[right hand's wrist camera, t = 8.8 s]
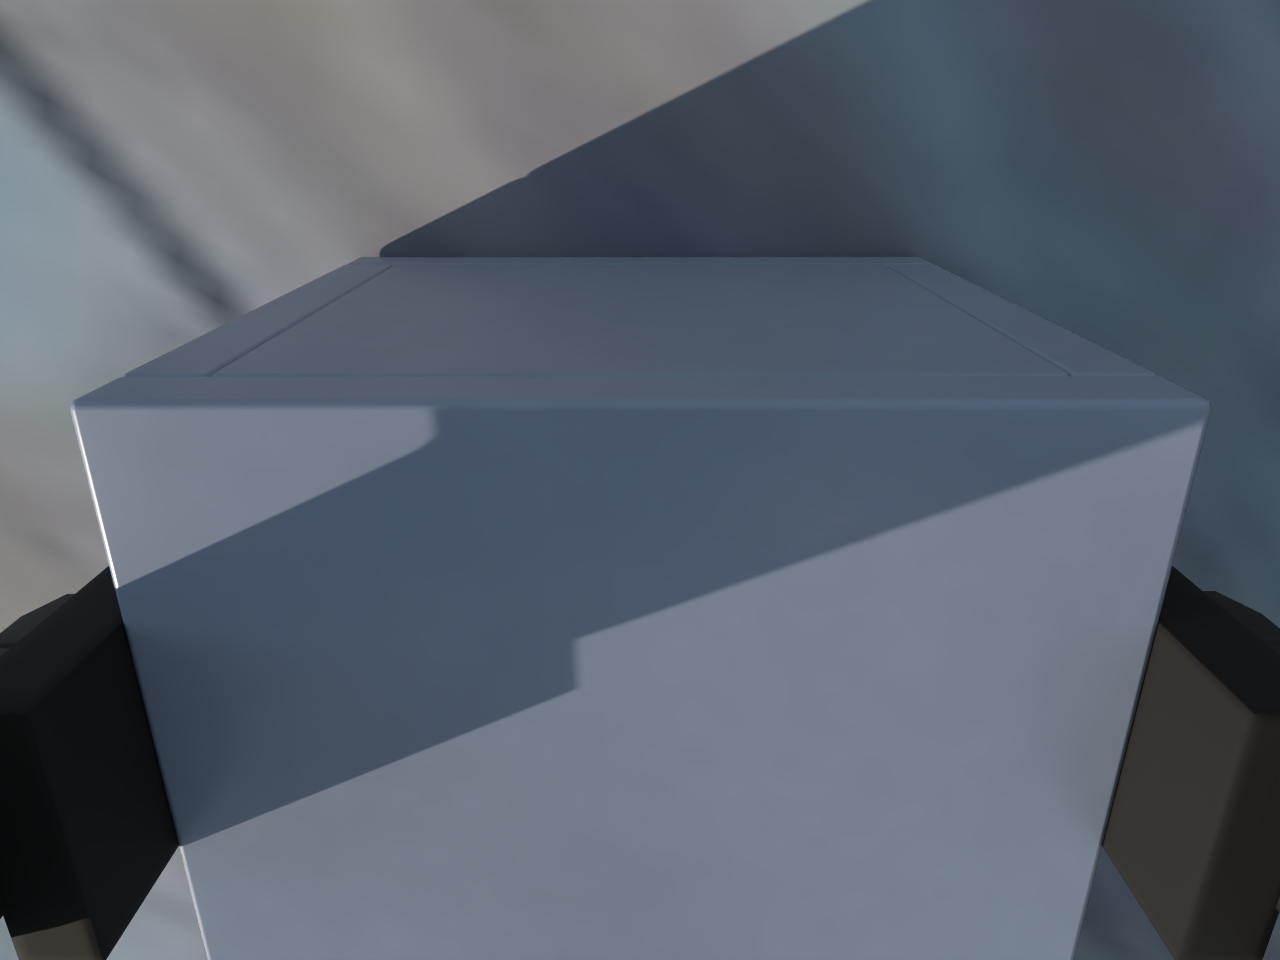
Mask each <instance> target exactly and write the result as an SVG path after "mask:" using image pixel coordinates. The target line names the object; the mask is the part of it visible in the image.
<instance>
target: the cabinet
mask: <svg viewBox="0 0 1280 960" xmlns="http://www.w3.org/2000/svg"><path fill="white" fill-rule="evenodd" d="M70 411H71V415H72V419H73V423H74V427H75V431H76V435H77V439H78V443H79V447H80V451H81V455H82V459H83V463H84V467H85V471H86V475H87V479H88V483H89V487H90V491H91V495H92V499H93V503H94V507H95V511H96V515H97V519H98V523H99V527H100V531H101V535H102V539H103V543H104V547H105V551H106V555H107V559H108V563H109V567H110V571H111V575H112V579H113V583H114V587H115V591H116V595H117V599H118V603H119V607H120V611H121V615H122V619H123V623H124V627H125V631H126V635H127V639H128V643H129V647H130V651H131V655H132V659H133V663H134V667H135V670H136V674H137V678H138V682H139V686H140V690H141V694H142V698H143V702H144V706H145V710H146V714H147V718H148V722H149V726H150V730H151V734H152V738H153V742H154V746H155V750H156V754H157V758H158V762H159V766H160V770H161V774H162V778H163V782H164V786H165V790H166V794H167V798H168V802H169V806H170V810H171V814H172V818H173V822H174V826H175V830H176V834H177V838H178V842H179V846H180V850H181V854H182V858H183V862H184V866H185V870H186V874H187V878H188V882H189V886H190V890H191V894H192V898H193V902H194V906H195V910H196V914H197V918H198V922H199V926H200V930H201V934H202V938H203V942H204V946H205V950H206V954H207V958H208V960H1074V956H1075V952H1076V948H1077V944H1078V940H1079V936H1080V932H1081V928H1082V924H1083V920H1084V916H1085V912H1086V908H1087V904H1088V900H1089V896H1090V892H1091V888H1092V884H1093V880H1094V876H1095V872H1096V868H1097V864H1098V860H1099V856H1100V852H1101V848H1102V844H1103V840H1104V836H1105V832H1106V828H1107V824H1108V820H1109V816H1110V812H1111V808H1112V804H1113V800H1114V796H1115V792H1116V788H1117V784H1118V780H1119V776H1120V772H1121V768H1122V764H1123V760H1124V756H1125V752H1126V748H1127V744H1128V740H1129V736H1130V732H1131V728H1132V724H1133V720H1134V716H1135V712H1136V708H1137V704H1138V700H1139V696H1140V692H1141V688H1142V684H1143V680H1144V676H1145V672H1146V668H1147V664H1148V660H1149V656H1150V652H1151V648H1152V644H1153V640H1154V636H1155V632H1156V628H1157V624H1158V620H1159V616H1160V612H1161V608H1162V604H1163V600H1164V596H1165V592H1166V588H1167V584H1168V580H1169V576H1170V572H1171V568H1172V564H1173V560H1174V556H1175V552H1176V548H1177V544H1178V540H1179V536H1180V532H1181V528H1182V524H1183V520H1184V516H1185V512H1186V508H1187V504H1188V500H1189V496H1190V492H1191V488H1192V484H1193V480H1194V476H1195V472H1196V468H1197V464H1198V460H1199V456H1200V452H1201V448H1202V444H1203V440H1204V436H1205V432H1206V428H1207V424H1208V420H1209V416H1210V412H1211V405H1210V402H1209V400H1207V399H1205V398H1203V397H1201V396H1199V395H1197V394H1195V393H1193V392H1191V391H1189V390H1187V389H1185V388H1183V387H1181V386H1179V385H1177V384H1175V383H1173V382H1171V381H1169V380H1167V379H1165V378H1162V377H1160V376H1157V374H1156V373H1154V372H1152V371H1150V370H1148V369H1146V368H1144V367H1142V366H1140V365H1137V364H1135V363H1133V362H1131V361H1129V360H1127V359H1125V358H1123V357H1121V356H1119V355H1117V354H1115V353H1113V352H1111V351H1109V350H1107V349H1105V348H1103V347H1101V346H1099V345H1097V344H1095V343H1093V342H1091V341H1089V340H1087V339H1085V338H1083V337H1081V336H1079V335H1077V334H1075V333H1072V332H1070V331H1068V330H1066V329H1064V328H1062V327H1060V326H1058V325H1056V324H1054V323H1052V322H1050V321H1048V320H1046V319H1044V318H1042V317H1040V316H1038V315H1036V314H1034V313H1032V312H1030V311H1028V310H1026V309H1024V308H1022V307H1020V306H1018V305H1016V304H1014V303H1012V302H1009V301H1007V300H1005V299H1003V298H1001V297H999V296H997V295H995V294H993V293H991V292H989V291H987V290H985V289H983V288H981V287H979V286H977V285H975V284H973V283H971V282H969V281H967V280H965V279H963V278H961V277H959V276H957V275H955V274H953V273H951V272H949V271H947V270H944V269H942V268H940V267H938V266H936V265H934V264H932V263H930V262H928V261H926V260H924V259H922V258H920V257H361V258H359V259H357V260H355V261H353V262H351V263H349V264H346V265H344V266H342V267H340V268H338V269H336V270H334V271H332V272H330V273H328V274H326V275H324V276H322V277H319V278H317V279H315V280H313V281H311V282H309V283H307V284H305V285H303V286H301V287H299V288H297V289H295V290H293V291H291V292H289V293H287V294H285V295H283V296H281V297H279V298H277V299H275V300H273V301H271V302H269V303H267V304H265V305H263V306H261V307H259V308H257V309H255V310H253V311H251V312H249V313H247V314H245V315H243V316H241V317H239V318H237V319H235V320H233V321H231V322H229V323H227V324H225V325H223V326H221V327H219V328H217V329H215V330H212V331H210V332H208V333H206V334H204V335H202V336H200V337H198V338H196V339H194V340H192V341H190V342H188V343H186V344H184V345H182V346H180V347H178V348H176V349H174V350H172V351H170V352H168V353H166V354H164V355H162V356H160V357H158V358H156V359H154V360H152V361H150V362H148V363H146V364H144V365H142V366H140V367H138V368H136V369H134V370H132V371H130V372H128V373H126V374H124V375H123V377H120V378H118V379H116V380H114V381H112V382H110V383H108V384H106V385H104V386H102V387H100V388H98V389H96V390H94V391H92V392H90V393H88V394H86V395H84V396H82V397H80V398H78V399H76V400H74V401H73V402H72V403H71V409H70Z"/></svg>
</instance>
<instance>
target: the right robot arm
mask: <svg viewBox="0 0 1280 960" xmlns="http://www.w3.org/2000/svg"><path fill="white" fill-rule="evenodd" d="M178 846H179V842H178V838H177V834H176V830H175V826H174V822H173V818H172V814H171V810H170V806H169V802H168V798H167V794H166V790H165V786H164V782H163V778H162V774H161V770H160V766H159V762H158V758H157V754H156V750H155V746H154V742H153V738H152V734H151V730H150V726H149V722H148V718H147V714H146V710H145V706H144V702H143V698H142V694H141V690H140V686H139V682H138V678H137V674H136V670H135V667H134V663H133V659H132V655H131V651H130V647H129V643H128V639H127V635H126V631H125V627H124V623H123V619H122V615H121V611H120V607H119V603H118V599H117V595H116V591H115V587H114V583H113V579H112V575H111V571H110V567H109V566H108V567H107V568H106V569H105V570H103V571H102V572H101V573H100V574H99V575H97V576H96V577H95V578H94V579H93V580H91V581H90V582H89V583H88V584H87V585H85V586H84V587H83V588H82V589H81V590H79V591H78V592H77V593H76V594H66V595H64V596H62V597H60V598H58V599H56V600H54V601H52V602H50V603H48V604H46V605H44V606H42V607H40V608H38V609H36V610H34V611H32V612H30V613H28V614H26V615H24V616H22V617H20V618H19V619H18V620H16V621H15V622H14V623H13V624H11V625H10V626H9V627H8V628H6V629H5V630H4V631H3V632H1V633H0V919H1V917H2V916H4V919H5V922H6V925H7V927H8V930H9V933H10V936H11V939H12V941H13V944H14V947H15V950H16V953H17V956H18V958H19V960H106V959H107V957H108V956H109V954H110V953H111V951H112V950H113V948H114V946H115V945H116V943H117V942H118V940H119V939H120V937H121V935H122V934H123V932H124V931H125V929H126V928H127V926H128V924H129V923H130V921H131V920H132V918H133V917H134V915H135V913H136V912H137V910H138V909H139V907H140V906H141V904H142V902H143V901H144V899H145V898H146V896H147V895H148V893H149V892H150V890H151V888H152V887H153V885H154V884H155V882H156V881H157V879H158V877H159V876H160V874H161V873H162V871H163V870H164V868H165V866H166V865H167V863H168V862H169V860H170V859H171V857H172V855H173V854H174V852H175V851H176V849H177V848H178ZM1102 846H1103V848H1104V849H1105V851H1106V852H1107V854H1108V855H1109V857H1110V859H1111V860H1112V862H1113V863H1114V865H1115V866H1116V868H1117V870H1118V871H1119V873H1120V874H1121V876H1122V877H1123V879H1124V881H1125V882H1126V884H1127V885H1128V887H1129V888H1130V890H1131V892H1132V893H1133V895H1134V896H1135V898H1136V899H1137V901H1138V903H1139V904H1140V906H1141V907H1142V909H1143V910H1144V912H1145V914H1146V915H1147V917H1148V918H1149V920H1150V921H1151V923H1152V925H1153V926H1154V928H1155V929H1156V931H1157V932H1158V934H1159V935H1160V937H1161V939H1162V940H1163V942H1164V943H1165V945H1166V946H1167V948H1168V950H1169V951H1170V953H1171V954H1172V956H1173V957H1174V959H1175V960H1262V959H1263V956H1264V953H1265V951H1266V948H1267V945H1268V942H1269V939H1270V937H1271V934H1272V931H1273V928H1274V925H1275V922H1276V920H1277V917H1278V914H1279V912H1280V628H1278V627H1277V626H1276V625H1275V624H1273V623H1272V622H1271V621H1270V620H1268V619H1267V618H1266V617H1265V616H1263V615H1262V614H1261V613H1259V612H1257V611H1255V610H1253V609H1251V608H1248V607H1246V606H1244V605H1242V604H1240V603H1238V602H1236V601H1234V600H1232V599H1230V598H1228V597H1226V596H1224V595H1222V594H1220V593H1218V592H1216V591H1202V590H1200V589H1199V588H1198V587H1197V586H1196V585H1194V584H1193V583H1192V582H1191V581H1190V580H1188V579H1187V578H1186V577H1185V576H1184V575H1182V574H1181V573H1180V572H1179V571H1178V570H1176V569H1175V568H1174V567H1173V566H1172V568H1171V572H1170V576H1169V580H1168V584H1167V588H1166V592H1165V596H1164V600H1163V604H1162V608H1161V612H1160V616H1159V620H1158V624H1157V628H1156V632H1155V636H1154V640H1153V644H1152V648H1151V652H1150V656H1149V660H1148V664H1147V668H1146V672H1145V676H1144V680H1143V684H1142V688H1141V692H1140V696H1139V700H1138V704H1137V708H1136V712H1135V716H1134V720H1133V724H1132V728H1131V732H1130V736H1129V740H1128V744H1127V748H1126V752H1125V756H1124V760H1123V764H1122V768H1121V772H1120V776H1119V780H1118V784H1117V788H1116V792H1115V796H1114V800H1113V804H1112V808H1111V812H1110V816H1109V820H1108V824H1107V828H1106V832H1105V836H1104V840H1103V844H1102Z"/></svg>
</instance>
